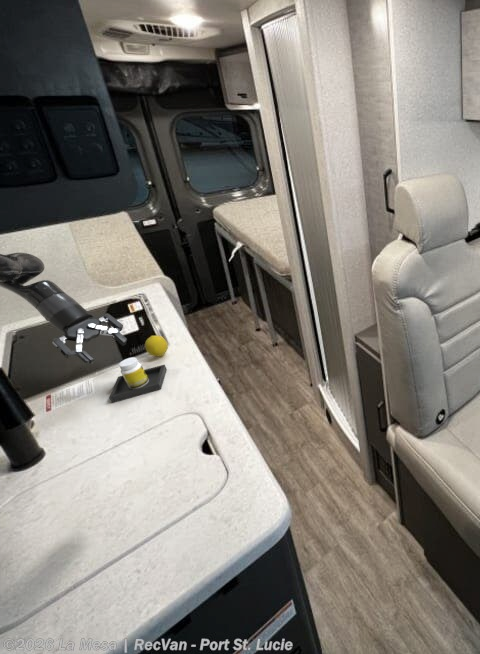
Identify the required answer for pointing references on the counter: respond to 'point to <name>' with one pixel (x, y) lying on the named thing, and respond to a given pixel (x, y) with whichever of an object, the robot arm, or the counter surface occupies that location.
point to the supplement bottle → (133, 373)
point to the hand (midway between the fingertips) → (109, 352)
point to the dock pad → (124, 392)
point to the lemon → (156, 345)
